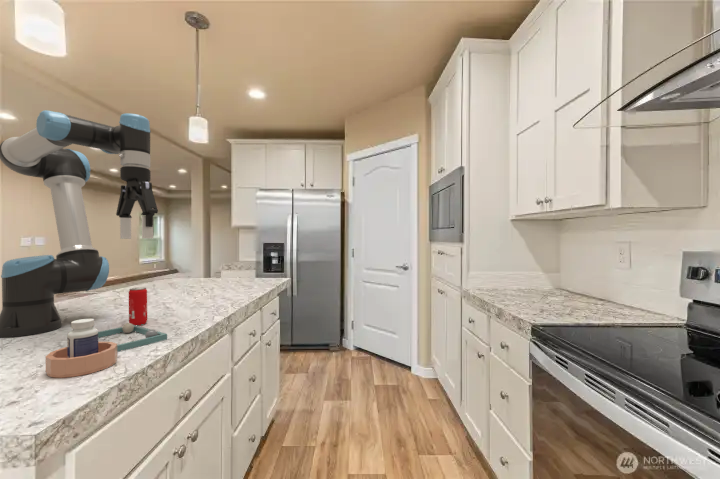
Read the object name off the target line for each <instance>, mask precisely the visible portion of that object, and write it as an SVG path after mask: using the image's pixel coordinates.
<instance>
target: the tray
mask: <svg viewBox="0 0 720 479" xmlns="http://www.w3.org/2000/svg"><path fill="white" fill-rule="evenodd" d="M122 327H123V326H120V327H116V328H111V329H106V330H101V331H98V337H99V338H104V337H109V336H113V335H117V334H116V333H118V334H121V333H120V332H123V330H122ZM151 329H152V328H146V327H143V326H141V325H139V326H136V325H134V330H133V331H132V332H135V331H136V332H135V333H138V332H139V333H138V334H141V333H142V335H145V334H146V332H147V331H149V330H151ZM156 331H157V330H156ZM123 333H124V332H123ZM157 333H158V335H157V336H153V337H149V338H146V337H144V338H141V339H136V340H133V341H129V342H124V343H121V344H117V351H119V352H122V351H121V350H123V351H126V349H127V350H129V349H130V348H131V349H134V347H135V348H138V346H139V347H143V346H145V345H150V344H154V343H158V342H163V341H165V340H168V333H165V332H161V331H159V330H158V331H157ZM112 334H113V335H112ZM108 335H109V336H108ZM103 336H104V337H103Z"/></svg>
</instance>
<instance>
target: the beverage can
mask: <svg viewBox="0 0 720 479" xmlns="http://www.w3.org/2000/svg"><path fill="white" fill-rule="evenodd" d="M147 322H148V290H147V287H133V288H129V289H128V323H131V324H133V325H139V326H142V325H141V324H144V325H146V324H147ZM145 323H146V324H145Z"/></svg>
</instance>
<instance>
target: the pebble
mask: <svg viewBox="0 0 720 479" xmlns="http://www.w3.org/2000/svg"><path fill="white" fill-rule="evenodd" d="M121 327H122V330H123V333H125V334H130V333H132V332H134V331H133V330H134V325H133V324H131V323H129V322H127V323H125V324H123V325H122V326H121Z"/></svg>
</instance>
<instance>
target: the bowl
mask: <svg viewBox="0 0 720 479" xmlns="http://www.w3.org/2000/svg"><path fill="white" fill-rule="evenodd" d="M117 345H118V343H117V342H114V341H98V353H94V354H90V355H86V356H79V357H72V358H68V357H67V346H65V347H61V348H59V349H56V350H53V351H50V352H49V353H48V354H47V355H45V372H46V376H48V377H49V378H54V379H65V378H73V377H80V376H81V377H82V376H85V375H91V374H94V373H97V371H98V372H101V371H104V370H106V369H108V368H110V366H111V367H112V366H114V365H115V364H117V359H118V352H117ZM113 364H114V365H113ZM103 369H104V370H103ZM100 370H101V371H100Z"/></svg>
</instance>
